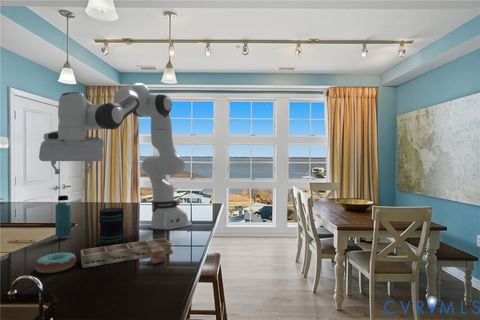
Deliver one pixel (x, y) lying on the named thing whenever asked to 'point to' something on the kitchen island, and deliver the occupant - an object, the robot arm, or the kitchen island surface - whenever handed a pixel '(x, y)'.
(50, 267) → the donut
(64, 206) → the beverage bottle
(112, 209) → the storage jar
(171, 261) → the kitchen island surface
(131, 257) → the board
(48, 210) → the kitchen island surface
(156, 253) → the count cube
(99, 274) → the kitchen island surface
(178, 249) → the kitchen island surface
